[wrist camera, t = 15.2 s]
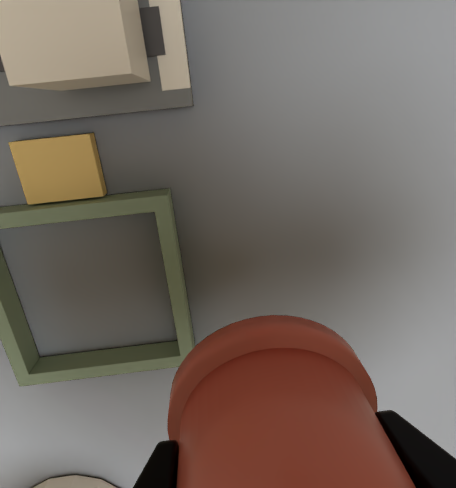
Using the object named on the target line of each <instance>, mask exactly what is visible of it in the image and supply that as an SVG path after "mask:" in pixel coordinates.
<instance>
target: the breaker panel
mask: <svg viewBox="0 0 456 488" xmlns="http://www.w3.org/2000/svg"><path fill="white" fill-rule="evenodd" d="M138 6H139V12H140V18H141V25H142V31H143V37H144V43H145V49H146V56H147V62H148V68H149V74H150V80H151V82H142V83H132V84H122V85H113V86H103V87H93V88H83V89H74V90H64V91H59V90H48V89H37V88H27V87H16V86H9V83H8V79H7V76H6V72H5V69H4V66H3V62H2V59H1V55H0V126H6V125H15V124H25V123H34V122H44V121H53V120H63V119H72V118H82V117H91V116H101V115H111V114H120V113H130V112H139V111H149V110H158V109H168V108H177V107H187V106H194V105H193V97H192V89H191V81H190V73H189V65H188V57H187V49H186V41H185V33H184V24H183V16H182V8H181V0H138Z"/></svg>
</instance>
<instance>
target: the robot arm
mask: <svg viewBox="0 0 456 488" xmlns="http://www.w3.org/2000/svg"><path fill="white" fill-rule="evenodd" d="M375 415H376V417H377V418H378V420H379V422H380V424H381V426H382V427H383V429H384V431H385V433H386V435H387V436H388V438H389V440H390V442H391V444H392V445H393V447H394V449H395V451H396V453H397V454H398V456H399V458H400V460H401V462H402V463H403V465H404V467H405V469H406V471H407V472H408V474H409V476H410V478H411V480H412V481H413V483H414V485H415V487H416V488H456V459H455V458H454V457H453V456H451V455H450V454H449V453H447V452H446V451H445V450H444V449H442V448H441V447H440V446H438V445H437V444H436V443H435V442H433V441H432V440H431V439H429V438H428V437H427V436H426V435H424V434H423V433H422V432H420V431H419V430H418V429H417V428H415V427H414V426H413V425H411V424H410V423H409V422H408V421H406V420H405V419H404V418H402V417H401V416H400V415H398V414H397V413H396V412H394V411H392V410H387V411H380V412H375ZM178 455H179V445H178V442H177V441H176V440H168V441H162V442H159V443H158V444H157V446H156V448H155V449H154V451H153V453H152V455H151V457H150V458H149V460H148V462H147V464H146V465H145V467H144V469H143V471H142V473H141V474H140V476H139V478H138V480H137V481H136V483H135V485H134V487H133V488H176V485H177V470H178Z"/></svg>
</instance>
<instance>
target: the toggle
mask: <svg viewBox="0 0 456 488" xmlns="http://www.w3.org/2000/svg"><path fill="white" fill-rule="evenodd" d="M0 55H1V59H2V62H3V66H4V69H5V72H6V76H7V79H8V83H9V86H16V87H27V88H37V89H48V90H59V91H64V90H74V89H83V88H93V87H103V86H113V85H122V84H132V83H142V82H151V80H150V74H149V68H148V62H147V56H146V49H145V43H144V37H143V31H142V25H141V18H140V12H139V6H138V0H0Z"/></svg>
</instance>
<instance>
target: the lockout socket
mask: <svg viewBox="0 0 456 488" xmlns="http://www.w3.org/2000/svg"><path fill="white" fill-rule="evenodd" d="M9 146H10V149H11V153H12V156H13V159H14V162H15V165H16V169H17V172H18V175H19V178H20V181H21V184H22V188H23V191H24V194H25V197H26V200H27V204H24V205H15V206H6V207H0V229H5V228H14V227H23V226H32V225H40V224H49V223H58V222H67V221H76V220H85V219H94V218H103V217H112V216H121V215H130V214H138V213H147V212H155V217H156V222H157V228H158V233H159V239H160V244H161V250H162V256H163V261H164V267H165V272H166V278H167V283H168V289H169V295H170V300H171V306H172V311H173V317H174V322H175V328H176V333H177V339H178V341H171V342H163V343H155V344H147V345H138V346H130V347H122V348H114V349H106V350H97V351H89V352H81V353H73V354H65V355H56V356H48V357H39V354H38V351H37V349H36V346H35V343H34V340H33V337H32V335H31V332H30V329H29V326H28V323H27V321H26V318H25V315H24V312H23V310H22V307H21V304H20V301H19V298H18V296H17V293H16V290H15V287H14V284H13V282H12V279H11V276H10V273H9V271H8V268H7V265H6V262H5V259H4V257H3V254H2V251H1V248H0V339H1V341H2V344H3V346H4V349H5V351H6V354H7V356H8V359H9V361H10V364H11V366H12V369H13V371H14V374H15V376H16V379H17V381H18V384H19V386H28V385H36V384H44V383H52V382H60V381H68V380H76V379H84V378H92V377H100V376H108V375H116V374H124V373H133V372H141V371H149V370H157V369H165V368H173V367H180V365H181V363H182V362H183V360H184V359H185V357H186V356H187V355H188V353H189V352H190V351H191V350H192V349H193V348H194V347H195V342H194V336H193V330H192V323H191V317H190V311H189V304H188V298H187V292H186V286H185V279H184V273H183V267H182V260H181V254H180V248H179V242H178V235H177V229H176V223H175V216H174V210H173V204H172V198H171V191H170V188H168V189H159V190H150V191H141V192H132V193H123V194H114V195H105V194H106V193H107V190H106V185H105V181H104V177H103V172H102V168H101V163H100V159H99V154H98V150H97V146H96V141H95V137H94V133H87V134H78V135H68V136H59V137H49V138H40V139H30V140H21V141H14V142H9ZM104 195H105V196H104Z"/></svg>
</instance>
